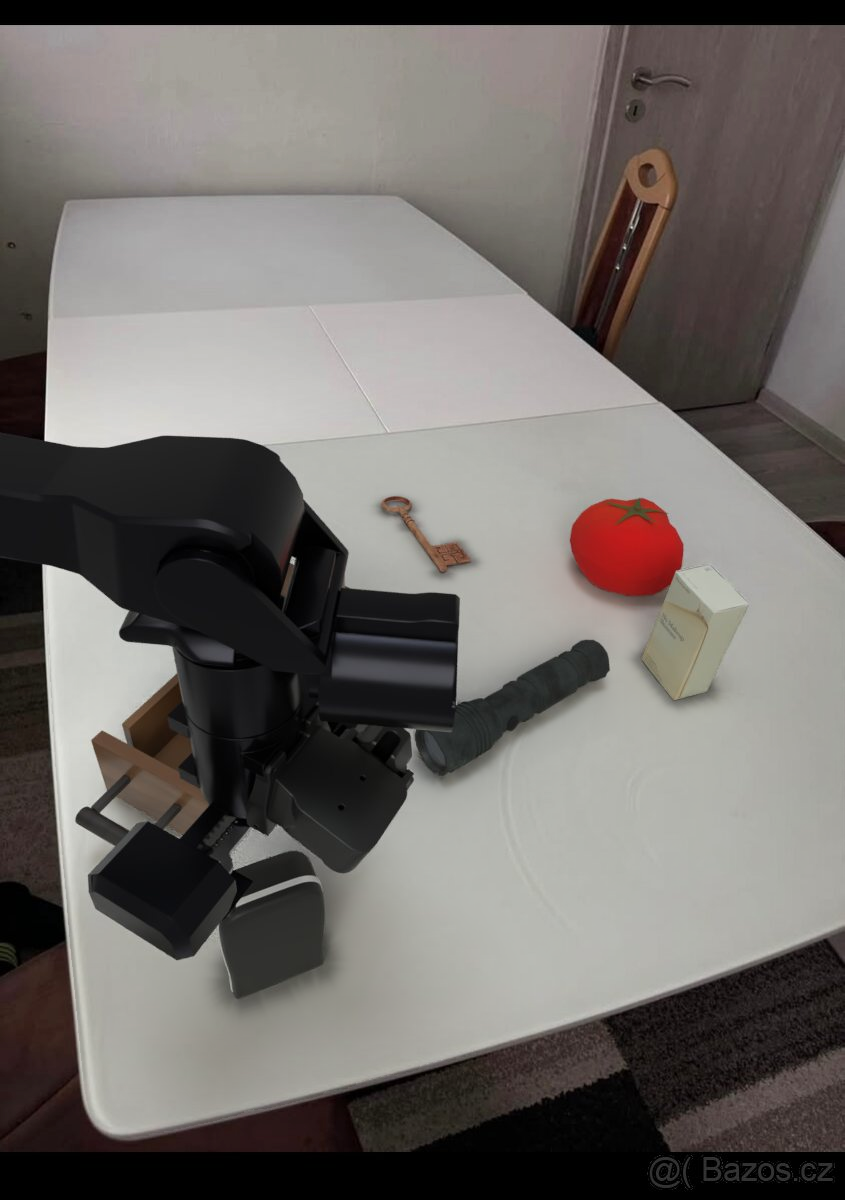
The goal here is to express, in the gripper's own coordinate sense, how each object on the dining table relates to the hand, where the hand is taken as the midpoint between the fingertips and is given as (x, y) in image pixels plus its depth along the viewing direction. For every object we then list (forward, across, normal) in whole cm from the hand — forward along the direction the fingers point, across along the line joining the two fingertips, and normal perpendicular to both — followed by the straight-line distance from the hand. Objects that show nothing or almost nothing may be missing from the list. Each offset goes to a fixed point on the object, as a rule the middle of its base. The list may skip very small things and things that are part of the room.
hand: (263, 863), depth 50 cm
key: (+13, +51, +15) cm, 55 cm away
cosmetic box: (+13, +44, -18) cm, 49 cm away
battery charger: (+13, 0, 0) cm, 13 cm away
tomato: (+13, +56, -8) cm, 58 cm away
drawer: (+12, +8, +14) cm, 20 cm away
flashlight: (+13, +30, -6) cm, 33 cm away
